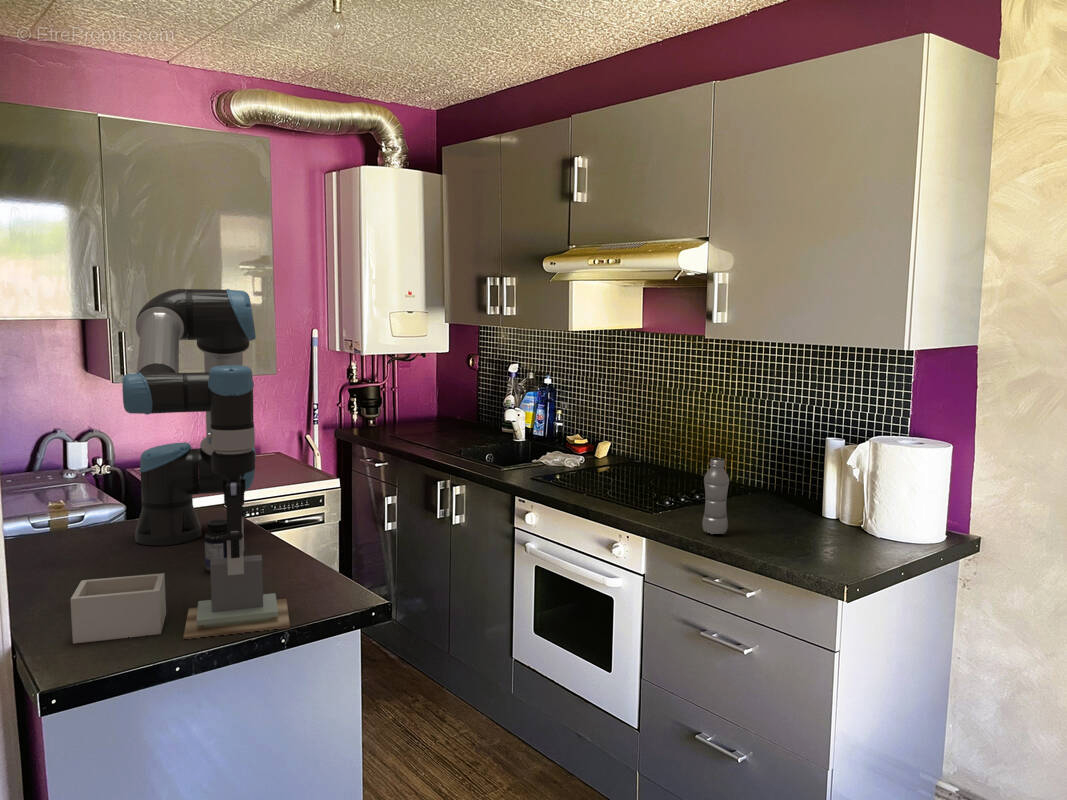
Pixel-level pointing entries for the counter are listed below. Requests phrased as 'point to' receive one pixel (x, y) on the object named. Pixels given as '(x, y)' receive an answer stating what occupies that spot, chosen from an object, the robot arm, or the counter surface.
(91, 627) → the storage box
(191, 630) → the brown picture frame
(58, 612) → the counter surface
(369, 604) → the counter surface
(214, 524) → the pill bottle
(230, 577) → the green base grey block
